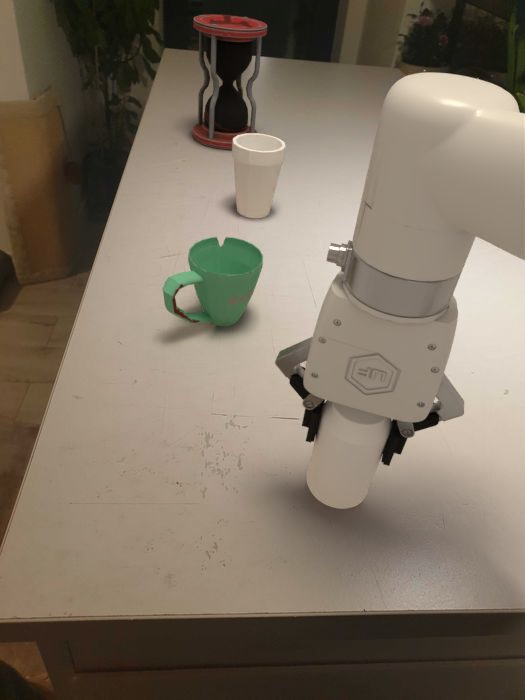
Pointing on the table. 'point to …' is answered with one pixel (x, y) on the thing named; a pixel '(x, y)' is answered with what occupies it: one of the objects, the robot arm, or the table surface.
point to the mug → (217, 280)
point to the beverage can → (346, 454)
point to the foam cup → (256, 172)
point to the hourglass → (226, 77)
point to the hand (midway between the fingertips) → (349, 440)
